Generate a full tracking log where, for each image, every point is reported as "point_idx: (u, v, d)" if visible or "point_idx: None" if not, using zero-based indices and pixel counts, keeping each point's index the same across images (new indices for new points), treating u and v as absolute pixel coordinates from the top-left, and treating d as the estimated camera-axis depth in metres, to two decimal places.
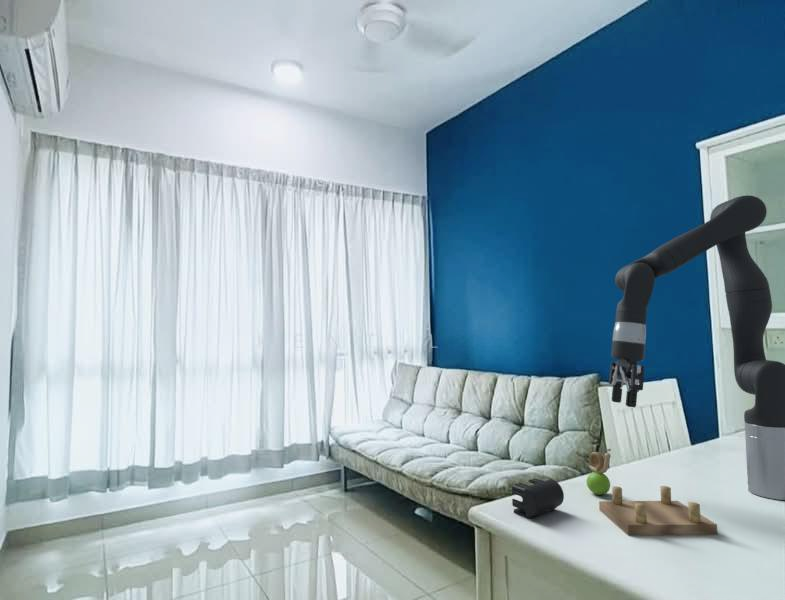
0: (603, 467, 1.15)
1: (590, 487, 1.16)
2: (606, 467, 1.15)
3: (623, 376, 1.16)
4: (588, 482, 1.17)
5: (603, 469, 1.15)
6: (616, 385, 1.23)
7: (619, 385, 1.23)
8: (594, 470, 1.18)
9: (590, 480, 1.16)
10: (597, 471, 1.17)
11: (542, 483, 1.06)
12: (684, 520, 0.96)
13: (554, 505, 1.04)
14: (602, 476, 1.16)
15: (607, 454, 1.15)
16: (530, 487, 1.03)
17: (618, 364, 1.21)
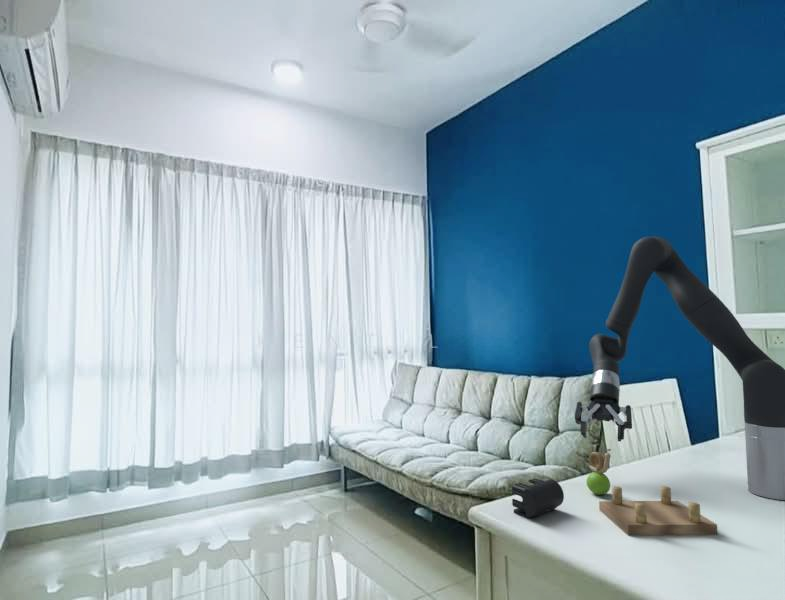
0: (603, 467, 1.15)
1: (590, 487, 1.16)
2: (606, 467, 1.15)
3: None
4: (588, 482, 1.17)
5: (603, 469, 1.15)
6: None
7: (619, 424, 1.24)
8: (594, 470, 1.18)
9: (590, 480, 1.16)
10: (597, 471, 1.17)
11: (542, 483, 1.06)
12: (684, 520, 0.96)
13: (554, 505, 1.04)
14: (602, 476, 1.16)
15: (607, 454, 1.15)
16: (530, 487, 1.03)
17: None
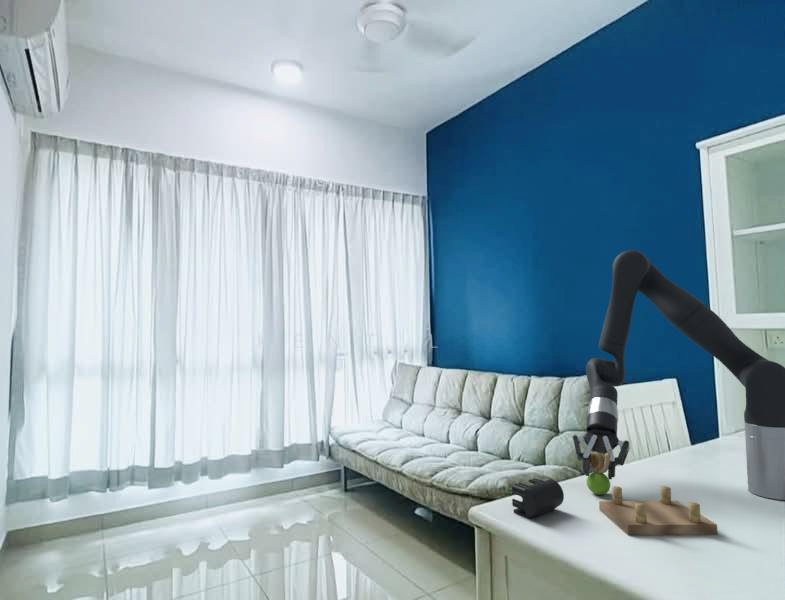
0: (603, 467, 1.15)
1: (590, 487, 1.16)
2: (606, 467, 1.15)
3: None
4: (588, 482, 1.17)
5: (603, 469, 1.15)
6: (610, 462, 1.17)
7: None
8: (594, 470, 1.18)
9: (590, 479, 1.16)
10: (597, 471, 1.17)
11: (542, 483, 1.06)
12: (684, 520, 0.96)
13: (554, 505, 1.04)
14: (602, 476, 1.16)
15: (607, 454, 1.15)
16: (530, 487, 1.03)
17: None
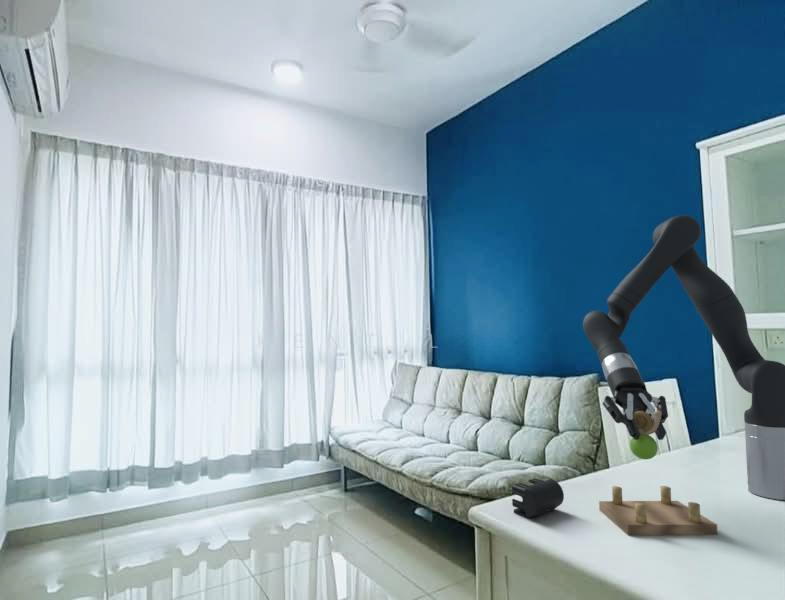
0: (653, 427, 1.01)
1: (640, 452, 1.01)
2: (656, 427, 1.01)
3: None
4: (637, 446, 1.01)
5: (653, 429, 1.01)
6: None
7: (653, 419, 1.04)
8: None
9: (641, 443, 1.01)
10: (644, 432, 1.02)
11: (542, 483, 1.06)
12: (684, 520, 0.96)
13: (554, 505, 1.04)
14: (651, 437, 1.02)
15: (659, 411, 1.01)
16: (530, 487, 1.03)
17: None
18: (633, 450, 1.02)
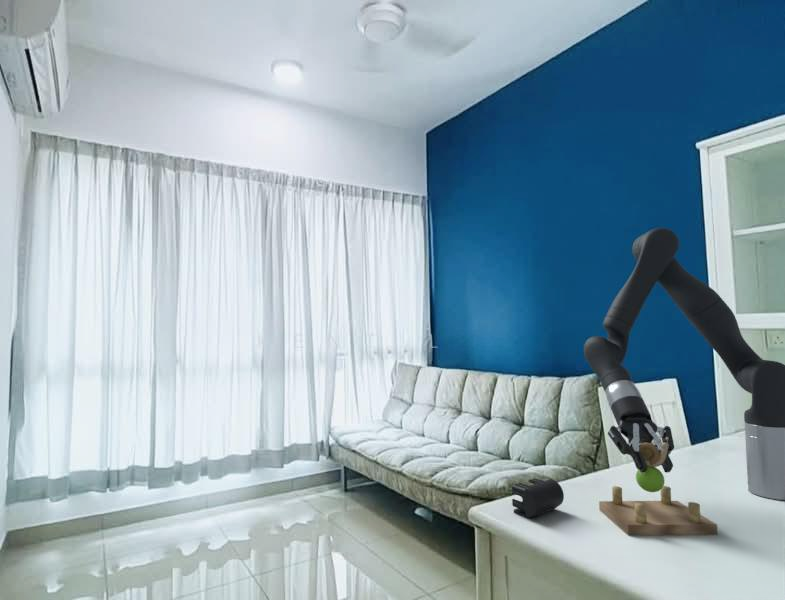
0: (660, 459, 1.00)
1: (647, 485, 0.99)
2: (664, 459, 0.99)
3: None
4: (644, 479, 0.99)
5: (660, 462, 1.00)
6: None
7: (659, 451, 1.02)
8: (646, 464, 1.01)
9: (648, 476, 0.99)
10: (651, 465, 1.00)
11: (542, 483, 1.06)
12: (684, 520, 0.96)
13: (554, 505, 1.04)
14: (657, 469, 1.00)
15: (666, 444, 0.99)
16: (530, 487, 1.03)
17: None
18: (640, 483, 1.00)
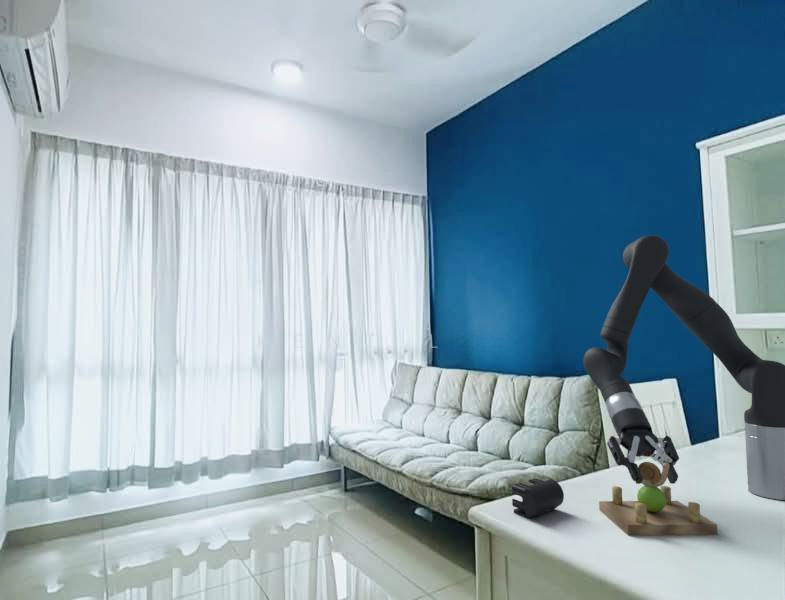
0: (661, 479, 0.99)
1: (647, 505, 0.99)
2: (664, 480, 0.99)
3: None
4: (644, 499, 0.99)
5: (661, 482, 0.99)
6: None
7: (664, 461, 1.02)
8: (647, 484, 1.01)
9: (647, 496, 0.99)
10: (652, 485, 1.00)
11: (542, 483, 1.06)
12: (684, 520, 0.96)
13: (554, 505, 1.04)
14: (658, 490, 1.00)
15: (666, 464, 0.99)
16: (530, 487, 1.03)
17: None
18: (640, 502, 1.01)
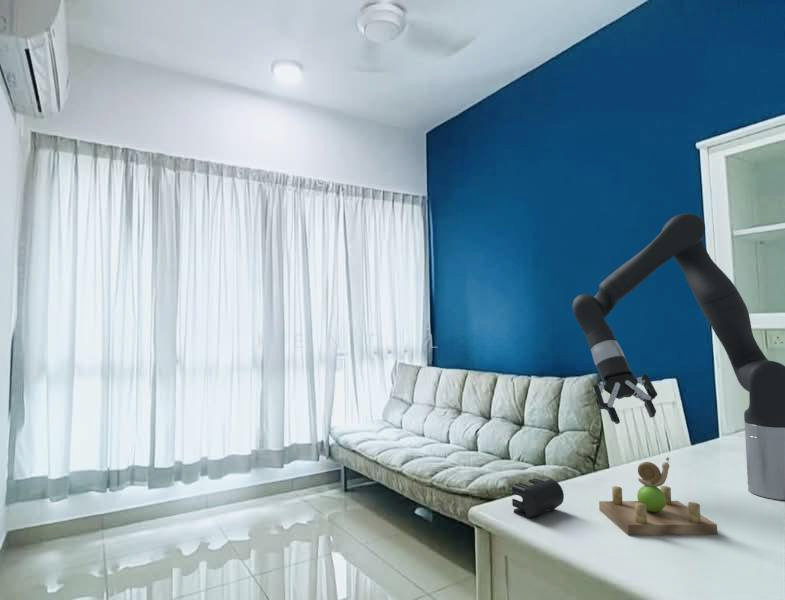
0: (661, 479, 0.99)
1: (647, 504, 0.99)
2: (664, 479, 0.99)
3: None
4: (644, 499, 1.00)
5: (661, 482, 0.99)
6: (644, 400, 1.18)
7: (644, 399, 1.18)
8: (647, 484, 1.01)
9: (647, 496, 0.99)
10: (652, 484, 1.00)
11: (542, 483, 1.06)
12: (684, 520, 0.96)
13: (554, 505, 1.04)
14: (658, 490, 1.00)
15: (666, 464, 0.99)
16: (530, 487, 1.03)
17: None
18: (640, 502, 1.01)
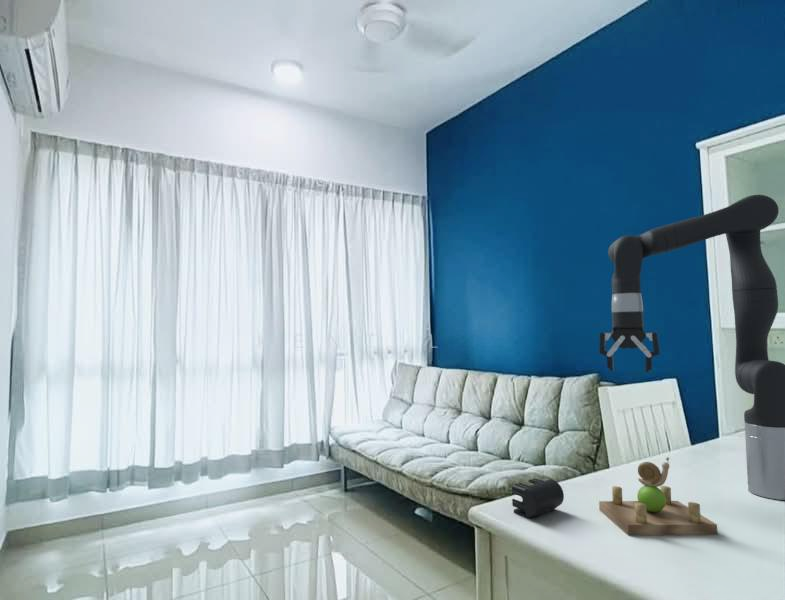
0: (661, 479, 0.99)
1: (647, 505, 0.99)
2: (664, 479, 0.99)
3: None
4: (644, 499, 1.00)
5: (661, 482, 0.99)
6: (646, 355, 1.23)
7: (646, 355, 1.22)
8: (647, 484, 1.01)
9: (647, 496, 0.99)
10: (652, 485, 1.00)
11: (542, 483, 1.06)
12: (684, 520, 0.96)
13: (554, 505, 1.04)
14: (658, 490, 1.00)
15: (666, 464, 0.99)
16: (530, 487, 1.03)
17: None
18: (640, 502, 1.01)
